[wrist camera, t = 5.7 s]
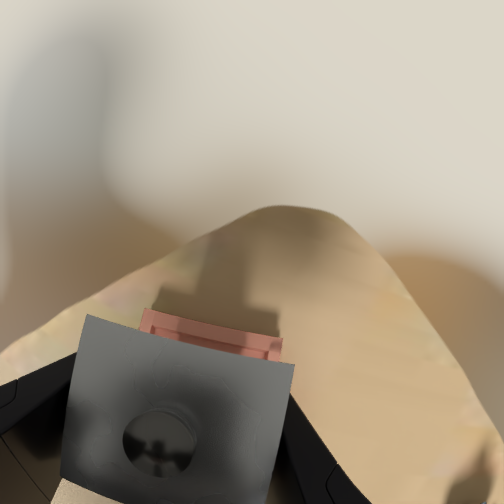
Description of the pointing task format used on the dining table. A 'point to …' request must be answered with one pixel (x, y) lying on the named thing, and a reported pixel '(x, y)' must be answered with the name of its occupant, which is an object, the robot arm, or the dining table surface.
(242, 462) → the knobbed tall block
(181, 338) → the tray
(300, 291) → the dining table surface
